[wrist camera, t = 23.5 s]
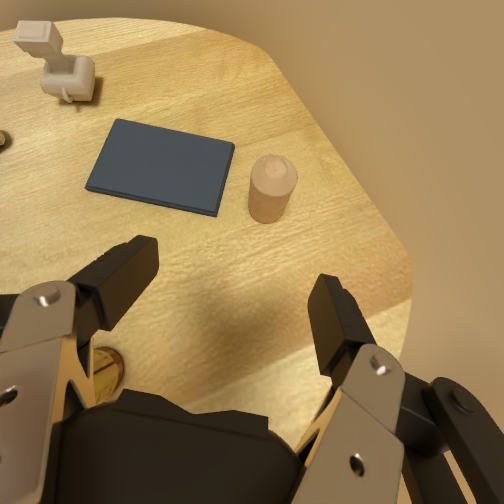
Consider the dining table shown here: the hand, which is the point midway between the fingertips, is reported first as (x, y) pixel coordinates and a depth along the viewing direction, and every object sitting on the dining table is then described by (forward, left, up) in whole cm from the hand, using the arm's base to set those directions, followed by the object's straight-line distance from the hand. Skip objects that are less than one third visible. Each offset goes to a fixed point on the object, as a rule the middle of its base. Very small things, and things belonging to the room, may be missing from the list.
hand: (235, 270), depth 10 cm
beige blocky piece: (-34, +28, -19) cm, 48 cm away
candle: (+1, +13, -19) cm, 24 cm away
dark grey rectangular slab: (-16, +17, -19) cm, 30 cm away
